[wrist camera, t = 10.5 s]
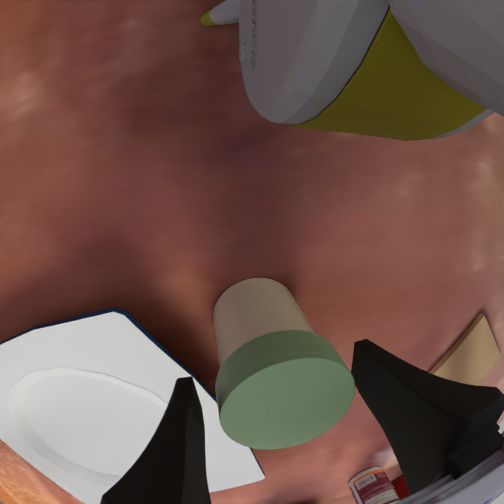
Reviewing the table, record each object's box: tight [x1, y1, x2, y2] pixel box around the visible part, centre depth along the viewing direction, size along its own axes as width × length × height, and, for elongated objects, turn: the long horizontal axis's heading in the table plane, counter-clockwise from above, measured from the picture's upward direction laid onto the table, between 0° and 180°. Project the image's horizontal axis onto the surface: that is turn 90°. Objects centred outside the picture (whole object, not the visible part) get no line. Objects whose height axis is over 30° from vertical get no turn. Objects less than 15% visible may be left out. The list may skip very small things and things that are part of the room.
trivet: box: [428, 313, 502, 386], centre depth 25 cm, size 11×11×1 cm
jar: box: [213, 278, 316, 368], centre depth 15 cm, size 5×5×7 cm
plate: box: [0, 307, 265, 504], centre depth 18 cm, size 20×20×3 cm
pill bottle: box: [348, 467, 401, 504], centre depth 25 cm, size 5×5×8 cm
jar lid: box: [215, 330, 355, 450], centre depth 12 cm, size 6×5×2 cm
